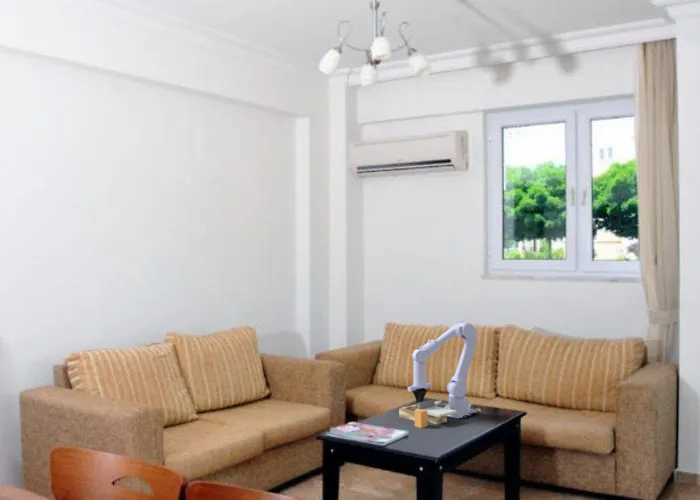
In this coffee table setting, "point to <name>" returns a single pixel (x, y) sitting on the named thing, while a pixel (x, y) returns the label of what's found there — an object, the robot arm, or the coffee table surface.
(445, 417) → the wooden tray
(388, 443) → the coffee table surface
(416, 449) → the coffee table surface
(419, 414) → the orange rectangular block
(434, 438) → the coffee table surface
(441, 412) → the lid
